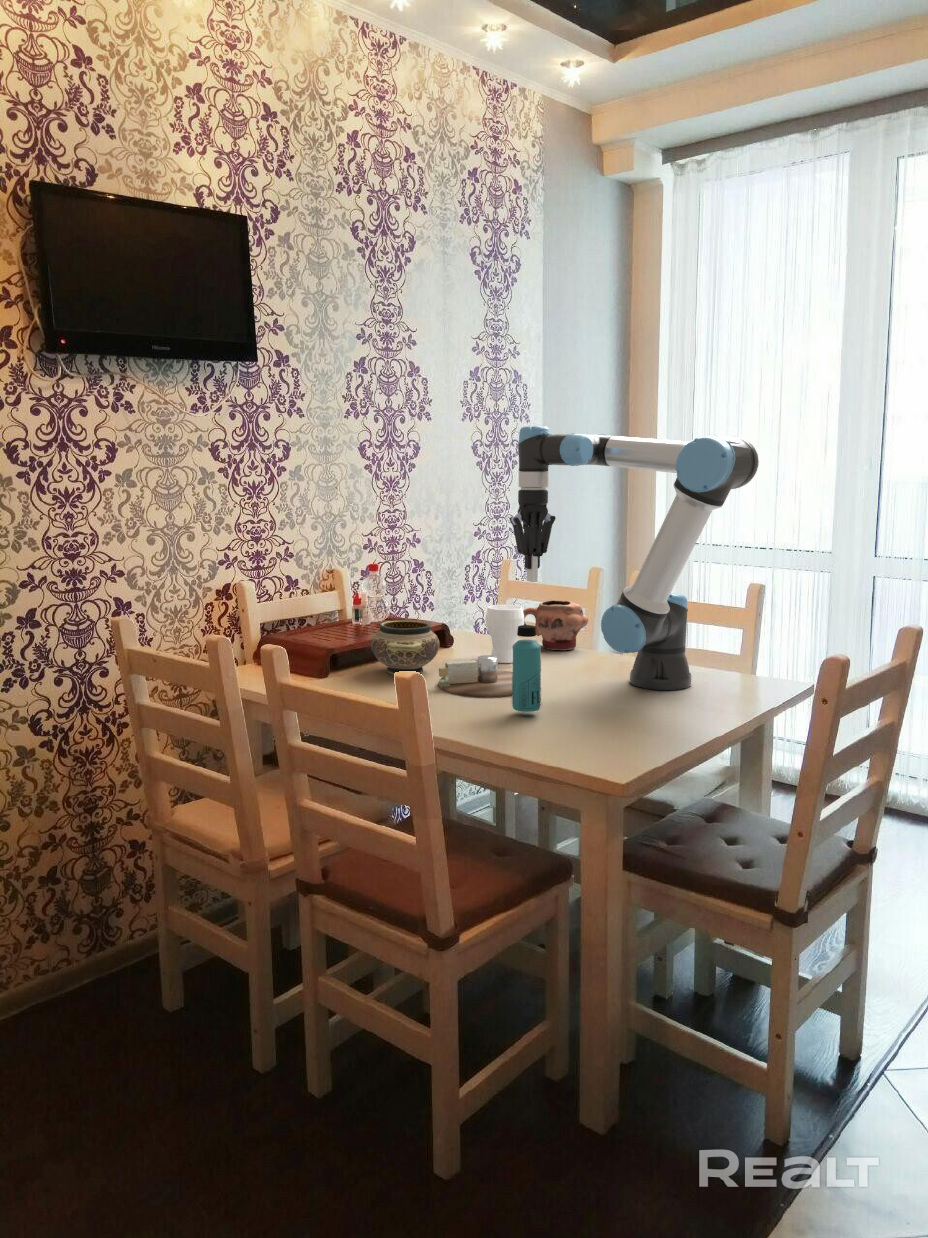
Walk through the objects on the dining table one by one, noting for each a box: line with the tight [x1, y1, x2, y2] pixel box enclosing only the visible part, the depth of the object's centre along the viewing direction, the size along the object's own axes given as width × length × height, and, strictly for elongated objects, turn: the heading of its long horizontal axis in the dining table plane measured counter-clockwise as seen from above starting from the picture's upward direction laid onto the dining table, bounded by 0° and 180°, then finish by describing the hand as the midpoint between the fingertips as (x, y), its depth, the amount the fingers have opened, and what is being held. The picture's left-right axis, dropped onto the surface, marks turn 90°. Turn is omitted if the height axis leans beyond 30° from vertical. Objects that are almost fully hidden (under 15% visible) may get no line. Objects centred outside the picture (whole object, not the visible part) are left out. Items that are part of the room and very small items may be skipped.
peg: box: [438, 654, 499, 684], centre depth 230 cm, size 15×5×6 cm, turn 106°
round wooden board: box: [438, 669, 513, 698], centre depth 232 cm, size 24×24×1 cm
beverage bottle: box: [511, 624, 542, 713], centre depth 204 cm, size 6×7×20 cm
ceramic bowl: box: [370, 619, 441, 675], centre depth 245 cm, size 24×18×15 cm
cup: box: [485, 603, 524, 664], centre depth 258 cm, size 11×11×15 cm
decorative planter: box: [523, 600, 589, 651], centre depth 275 cm, size 20×12×14 cm, turn 86°
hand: (532, 581), depth 239 cm, fingers closed
